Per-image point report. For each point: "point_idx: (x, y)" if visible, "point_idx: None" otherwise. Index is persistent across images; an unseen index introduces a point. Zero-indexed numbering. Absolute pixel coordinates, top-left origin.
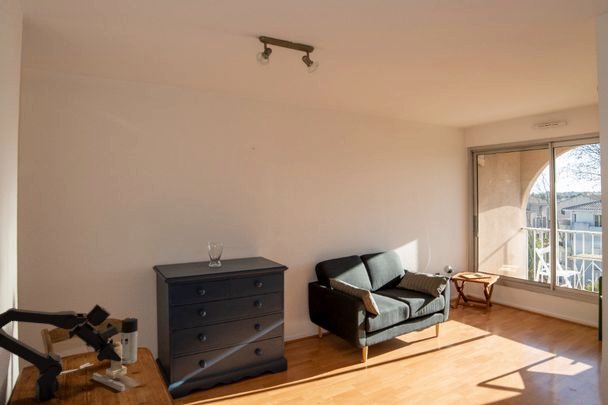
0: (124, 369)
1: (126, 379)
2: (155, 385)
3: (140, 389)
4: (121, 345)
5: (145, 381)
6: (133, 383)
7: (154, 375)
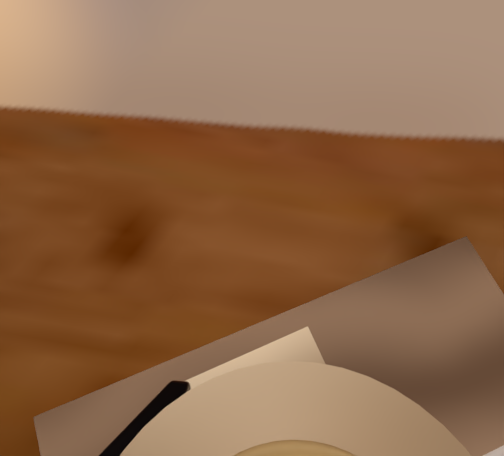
0: (318, 355)
1: (319, 344)
2: (465, 168)
3: (495, 272)
4: (368, 408)
5: (356, 211)
6: (445, 306)
7: (277, 137)
